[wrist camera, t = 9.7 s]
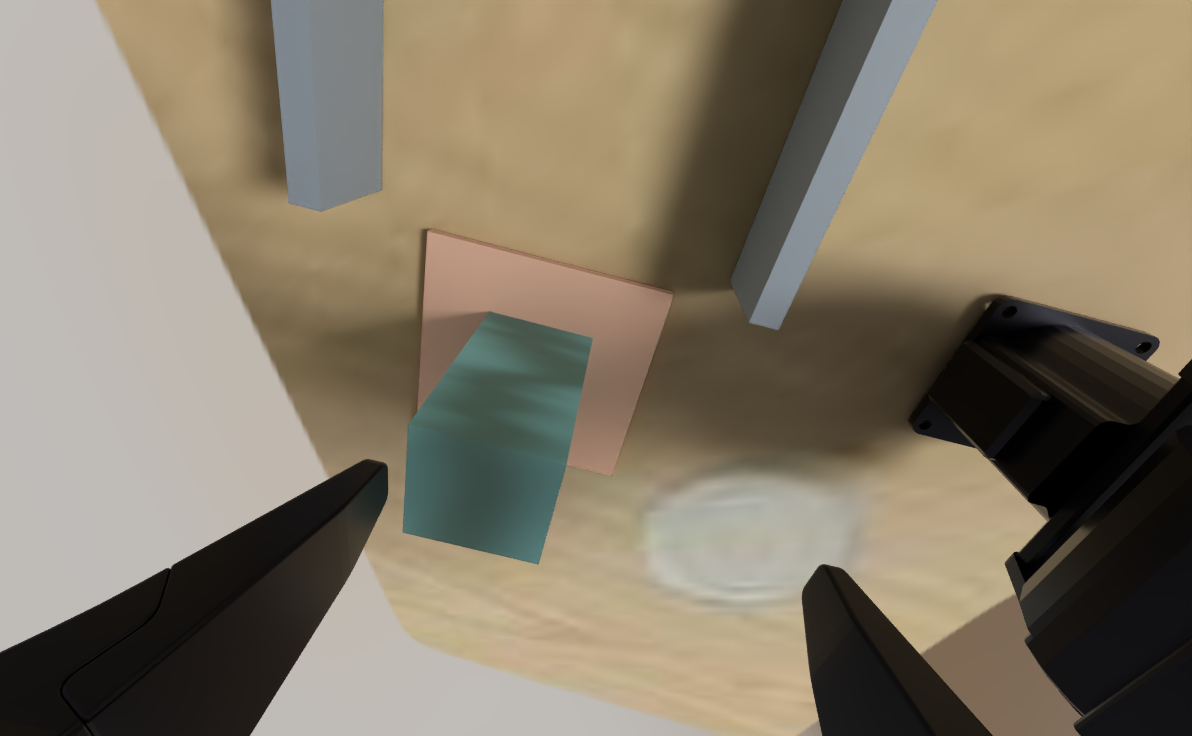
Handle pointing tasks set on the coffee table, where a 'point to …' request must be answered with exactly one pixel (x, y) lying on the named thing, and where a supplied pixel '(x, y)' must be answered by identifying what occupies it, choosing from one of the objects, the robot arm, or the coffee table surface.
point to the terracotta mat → (552, 298)
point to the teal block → (496, 439)
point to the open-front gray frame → (791, 202)
